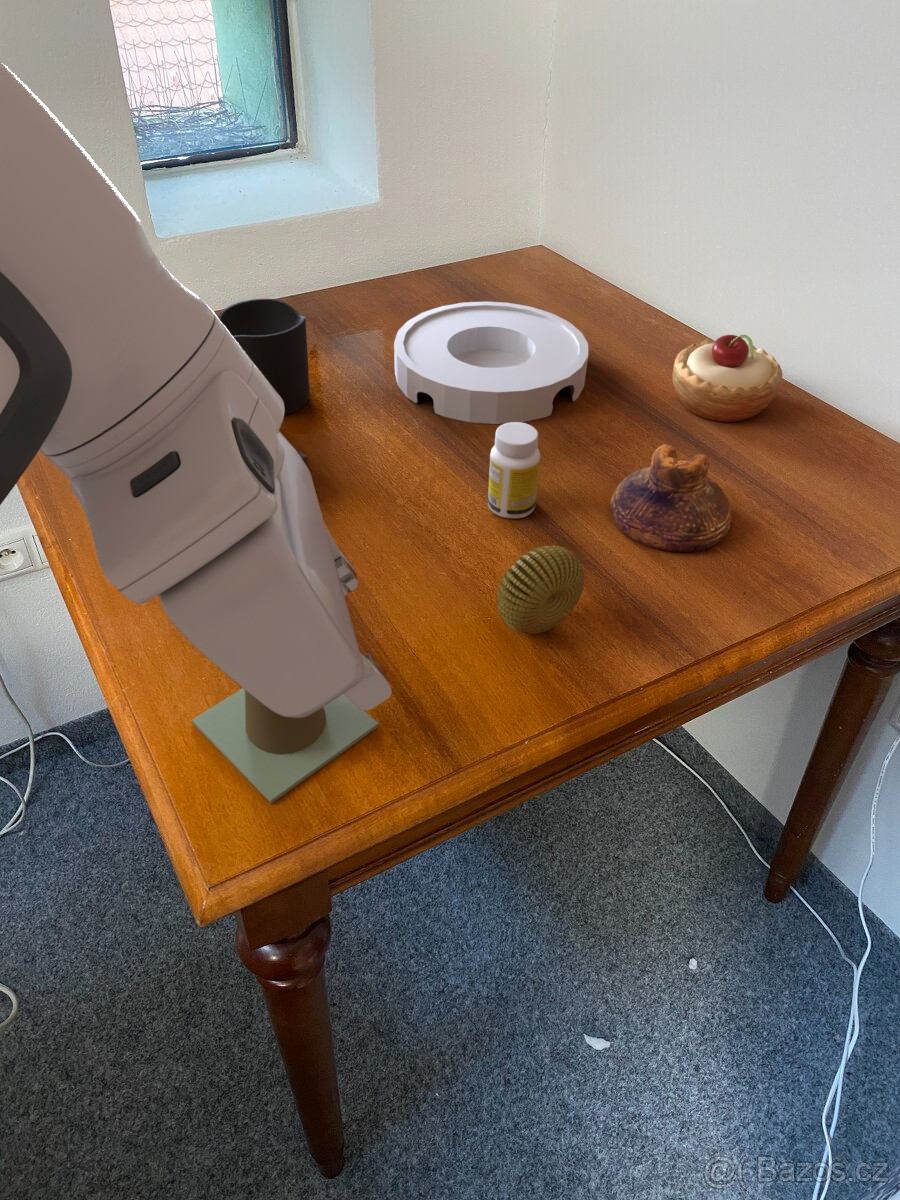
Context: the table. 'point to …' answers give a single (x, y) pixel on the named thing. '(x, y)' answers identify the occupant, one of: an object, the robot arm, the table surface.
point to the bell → (672, 504)
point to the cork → (280, 728)
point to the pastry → (726, 378)
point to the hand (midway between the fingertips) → (360, 636)
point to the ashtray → (490, 361)
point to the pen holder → (273, 345)
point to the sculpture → (540, 589)
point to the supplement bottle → (514, 470)
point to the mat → (283, 770)
